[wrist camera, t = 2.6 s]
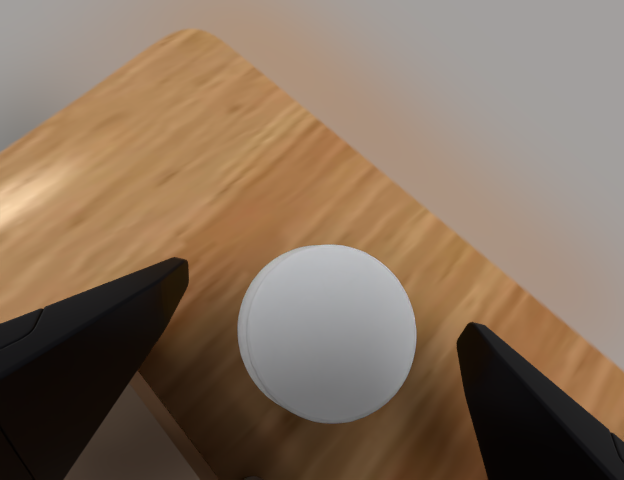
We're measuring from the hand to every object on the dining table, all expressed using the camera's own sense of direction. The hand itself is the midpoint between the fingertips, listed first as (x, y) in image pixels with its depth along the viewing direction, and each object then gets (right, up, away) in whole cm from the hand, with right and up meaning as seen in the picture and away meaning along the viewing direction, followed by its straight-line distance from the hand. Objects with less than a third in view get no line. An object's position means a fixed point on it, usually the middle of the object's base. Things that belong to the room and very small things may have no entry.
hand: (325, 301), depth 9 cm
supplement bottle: (-1, -3, +7) cm, 8 cm away
